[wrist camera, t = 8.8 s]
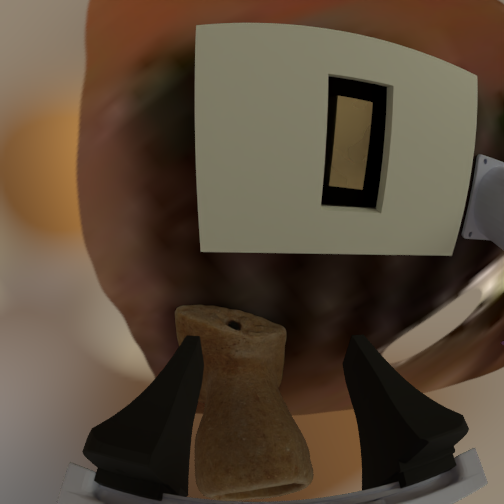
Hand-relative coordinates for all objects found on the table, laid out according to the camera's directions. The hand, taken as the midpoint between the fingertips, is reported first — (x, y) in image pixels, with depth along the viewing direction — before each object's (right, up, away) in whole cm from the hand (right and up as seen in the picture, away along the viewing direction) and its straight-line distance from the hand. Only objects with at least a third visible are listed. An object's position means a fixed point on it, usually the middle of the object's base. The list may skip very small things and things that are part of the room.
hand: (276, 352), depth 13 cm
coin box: (+4, +13, +5) cm, 14 cm away
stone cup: (-2, -6, +15) cm, 16 cm away
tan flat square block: (+4, +13, +5) cm, 14 cm away
